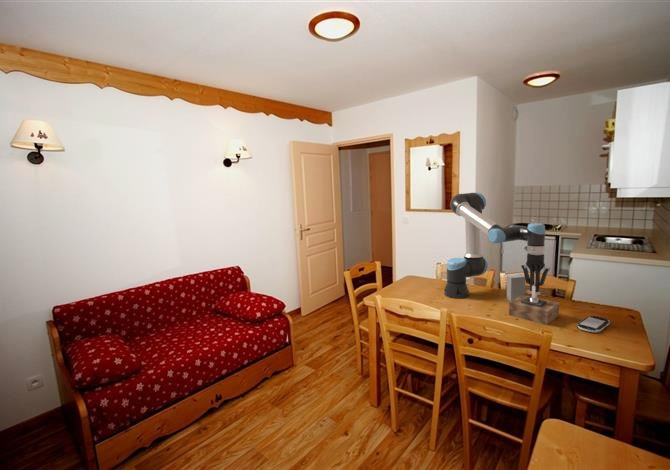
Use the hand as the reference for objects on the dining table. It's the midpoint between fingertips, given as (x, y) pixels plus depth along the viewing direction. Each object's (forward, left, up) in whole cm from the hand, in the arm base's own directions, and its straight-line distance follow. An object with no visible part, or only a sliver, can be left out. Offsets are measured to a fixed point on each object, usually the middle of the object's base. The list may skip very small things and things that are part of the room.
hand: (534, 297), depth 167 cm
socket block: (0, 0, -10) cm, 10 cm away
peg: (0, 0, -8) cm, 8 cm away
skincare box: (-16, +15, -10) cm, 24 cm away
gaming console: (+24, +6, -11) cm, 27 cm away
